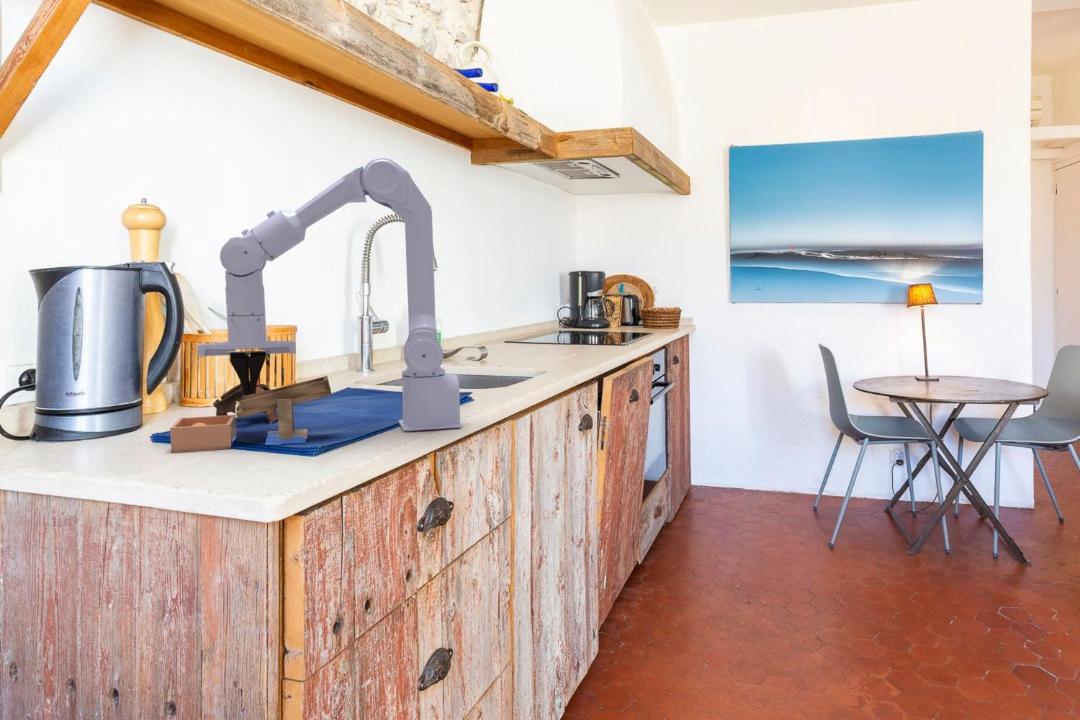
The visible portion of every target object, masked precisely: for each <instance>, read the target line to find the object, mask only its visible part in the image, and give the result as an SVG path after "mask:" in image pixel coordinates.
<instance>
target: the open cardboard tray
mask: <svg viewBox="0 0 1080 720" xmlns="http://www.w3.org/2000/svg"><path fill="white" fill-rule="evenodd" d="M236 419H237V416H236V414H231V415H229V414H228V415H225V416H216V415H212V416H210V415H209V416H193V417H180V418H178V419H177V420H176V421H175V422H174V423H173V424H172V425H171V427H170V428H169V434H170V448H171V452H170V453H171V454H172V453H183V452H199V451H212V450H213V451H215V450H228V449H229V450H230V449H232V448H231V441H232V439H233V438H234V436H235V435H236V434H237V420H236ZM196 423H204V424H206V425H205V426H192V425H194V424H196Z"/></svg>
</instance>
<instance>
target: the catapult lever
mask: <svg viewBox="0 0 1080 720" xmlns="http://www.w3.org/2000/svg"><path fill="white" fill-rule="evenodd" d="M329 396H332V389H331V386H330V380H329V377H328V375H325V376H320V377H317V378H313V379H308V380H304V381H300V382H297V383H293V384H289V385H288V384H287V385H284V386H281V387H276V388H272V389H271V388H270V390H267V391H263V392H259V393H255V394H251V395H247V396H243V400H242V401H240V402H238V405H236V408H235V411H236V413H235V415H236V419H241V418H245V417H249V416H253V415H258V414H262V413H261V412H265V411H269V410H273V409H275V410H276V409H277V400H278V399H291V405H293V406H294V405H297V404H302V403H306V402H309V401H313V400H316V399H320V398H323V397H329ZM277 410H278V409H277Z"/></svg>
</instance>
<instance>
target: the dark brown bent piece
mask: <svg viewBox="0 0 1080 720" xmlns="http://www.w3.org/2000/svg"><path fill="white" fill-rule="evenodd" d="M267 390H271V388H270V387H269V386H268V385H266V384H264V383H257V388H256V393H259V392H263V391H267ZM243 396H245V394H244V390H243V387H242V384H241V383H240V384H237V385H236V386H234V387H232V388H231V389H229V390H227V391H226V392H225V393H223V394H222V395H221V396H220V397H219V398H220V399H215V401H214V402H213V403H212V406H213V407H214V408H215V409H216V410H215V416H225V415H229V413H233V414H236V412H237V411H236V408H237V402H238V403H240V401H242V400H243ZM260 414H264V416H265V417H267V419H268V423H269V422H273V423H274V421H275V422H276V421H277V420H278V412H277V410H276V409H273V410H269V411H265V412H261V413H260Z"/></svg>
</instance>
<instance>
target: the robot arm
mask: <svg viewBox="0 0 1080 720" xmlns="http://www.w3.org/2000/svg"><path fill="white" fill-rule="evenodd" d="M366 196H368V197H369V198H370V199H371V201H373V202H375V203H377V204H379V205H381V206H384V207H386V208H387V209H390V210H391V211H392V212H393V213H394V214H395V215H396V216H398V218H400V219H401V220H402V221H403V222H404V233H405V235H404V236H405V257H406V258H405V259H406V264H405V265H406V287H407V288H406V289H407V313H408V315H407V318H408V336H407V339H406V341H405V342H404V346H403V358H404V362H405V365H406V368H405V369H404V370H402V371H401V387H402V388H401V391H402V419H398V424H399V426H400V427H401V429H402V430H403V432H414V431H415V432H416V431H428V430H430V431H431V430H444V429H459V428H461V427H462V424H461V405H460V404H461V403H460V402H461V401H460V399H461V398H460V395H461V394H460V383H459V377H458V375H457V373H452V372H451V373H450V372H449V373H446V369H445V368H442V364H443V361H444V350H443V347H442V346H441V344H440V342H439V340H438V334H437V332H438V331H437V330H438V329H437V320H436V296H435V294H436V293H435V266H434V264H435V261H434V238H433V237H434V236H433V235H434V233H433V232H434V231H433V210H432V206H431V205H430V203H429V201H428V200H427V199H426V197H425V196H424V194H423V193H422V191H421V190H420V189H419V187H418V185H417V184H416V182H415V181H414V180H413V178H412V176H411V174H410V173H409V171H408V170H407V169H405V168H404V167H402V166H401V165H399V164H398V163H397V162H395V161H394V160H393V159H390V158H387V157H377V158H374V159H371V160H370V161H369V162H367V163H366V165H365V167H364V166H363V165H361V166H359V167H357V168H354V169H353V170H351V171H350V172H348V173H347V174H344V175H343V176H341V177H340V178H338V179H337V180H336V181H335V182H333V183H332V184H330V185H329V186H328V187H326V188H325V189H323V190H322V191H320V192H319V193H318V194H317V195H315V196H314V197H312V198H311V199H309V200H308V201H307V202H305V203H304V204H303V205H301V206H300V207H298V208H297V209H295V210H293V211H292V210H287V209H280V210H278V211H277V212H276V211H275V210H271V211H269V212H268V213H266V217H267V219H265V220H263V221H262V222H260V223H259V224H257V225H256V226H255V227H253V228H251V229H248V228H245V229H244V230H242V231H241V235H242V236H234V237H230V238H229V239H228V240H227V241H226V242H225V243H224V244H223V245H222V247H221V249H220V254H219V260H220V263H221V265H222V267H223V268H224V269H225V271H224V273H225V274H224V275H225V289H224V291H225V304H226V305H225V306H226V308H225V309H226V321H227V322H226V324H227V340H228V341H227V342H226V341H225V342H211V343H206V342H203V343H198V344H197V357H199V358H203V357H215V356H216V357H217V356H221V357H222V356H229V362H230V364H231V366H232V367H233V370H234V371H235V372H236V373H235V374H236V375H237V377H238V379H239V381H240V384H242V387H243V390H244V394H245V396H247V395H251V394H255V393H256V388H257V385H258V384H259V383H258V382H259V379H260V376H261V372H262V369H263V367H264V363H265V361H266V360H267V355H271V354H272V355H273V354H274V355H275V354H279V355H280V354H290V355H291V354H296V353H297V343H296V342H297V341H296V340H267V339H268V338H267V319H266V301H265V286H264V280H263V279H264V278H263V270H264V269H265V267H266V265H267V261H268V262H273V261H275V260H276V259H277V258H279V257H281V256H282V255H284V254H285V253H287V252H288V251H290V250H291V249H293V248H294V247H296V246H297V245H299V244H300V243H302V242H304V241H305V237H306V232H307V229H308V228H309V227H311V226H312V225H314V224H316V223H318V222H319V221H321V220H323V219H325V218H326V217H327V216H328V215H331V214H332V213H334V212H335V211H337V210H339V209H340V208H343V206H345V205H347V204H350V203H351V204H352V203H354V204H356V203H368V200H367V197H366ZM236 350H239V351H236ZM240 350H243V351H240ZM244 350H246V351H244Z"/></svg>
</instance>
